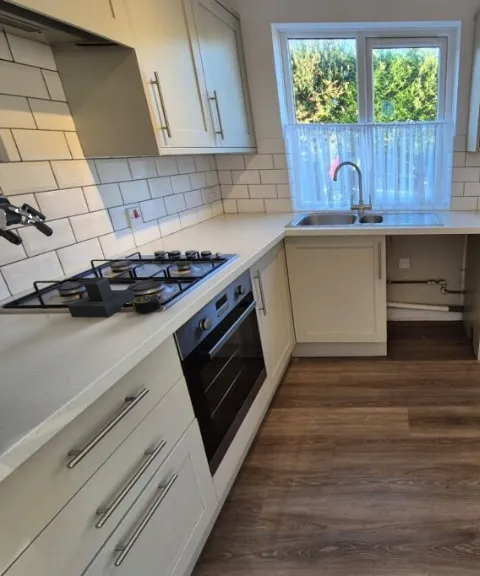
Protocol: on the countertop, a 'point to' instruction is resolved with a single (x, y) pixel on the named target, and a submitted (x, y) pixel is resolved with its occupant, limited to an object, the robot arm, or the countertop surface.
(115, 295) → the base pad
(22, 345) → the countertop surface
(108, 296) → the pad post
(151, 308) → the tape measure
